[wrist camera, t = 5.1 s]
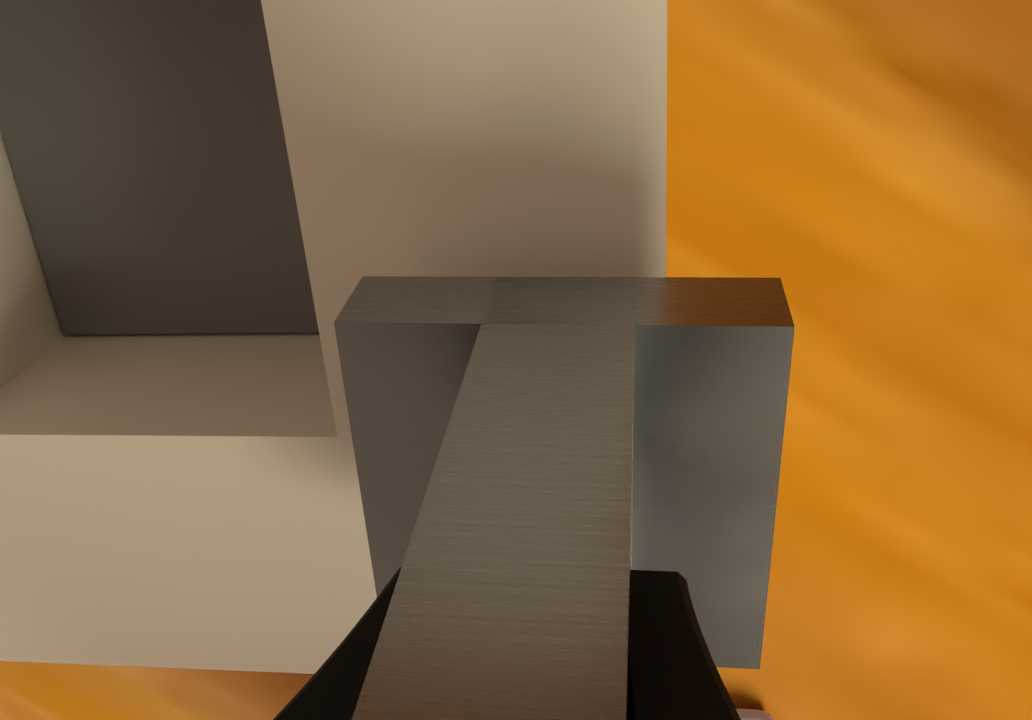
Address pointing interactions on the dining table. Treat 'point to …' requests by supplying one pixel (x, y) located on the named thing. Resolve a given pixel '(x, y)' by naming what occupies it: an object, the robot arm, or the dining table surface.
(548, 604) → the tall grey block
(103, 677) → the dining table surface
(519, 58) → the well block
